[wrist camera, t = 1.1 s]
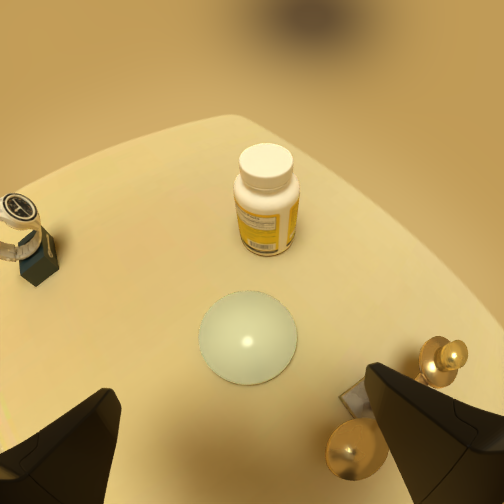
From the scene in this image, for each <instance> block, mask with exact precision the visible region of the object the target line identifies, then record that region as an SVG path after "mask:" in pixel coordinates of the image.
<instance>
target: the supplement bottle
mask: <svg viewBox="0 0 504 504" xmlns="http://www.w3.org/2000/svg"><path fill="white" fill-rule="evenodd" d="M239 168H240V173H239V174H238V176H237V177H236V179H235V182H234V187H233V189H234V198H235V205H236V211H237V218H238V224H239V230H240V235H241V239H242V241H243V243H244V245H245V246H246V247H247V248H248V249H249V250H250V251H252V252H254V253H256V254H259V255H264V256H271V255H276V254H279V253H281V252H283V251H284V250H286V249H287V248H288V247H289V246H290V245H291V243H292V241H293V239H294V234H295V228H296V220H297V212H298V204H299V196H300V184H299V181H298V178H297V177H296V175H295V174H294V173H293V157H292V155H291V153H290V152H289V151H288V150H287V149H286V148H284V147H282V146H280V145H277V144H271V143H261V144H256V145H253V146H251V147H249V148H247V149H246V150H244V151H243V152H242V154H241V155H240V158H239Z"/></svg>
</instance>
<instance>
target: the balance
mask: <svg viewBox="0 0 504 504" xmlns="http://www.w3.org/2000/svg"><path fill="white" fill-rule="evenodd" d="M467 358H468V350H467V347H466V345H465V343H464V342H463V341H461V340H455V341H453V342H450V341H449V340H448V339H446V338H444V337H441V336H436V337H433V338H431V339H429V340H428V341H427V342H425V343H424V345H423V346H422V348H421V351H420V354H419V367H420V371H421V372H420V373H419V374H418V376H417V377H416V378H415V379H414V380H416V381H418V382H420V383H422V384H424V385H426V386H428V385H430V386H431V387H433V388H437V389H438V388H443V387H446V386H448V385H450V384H451V383H452V382H453V381H454V379H455V378H456V375H457V372H458V368H461V367H463V366H464V365H465V363H466V361H467ZM364 379H365V377H364V378H363V379H361V380H360V381H359V382H358V383H356V384H355V385H354V386H353V387H351V388H350V389H349V390H347V391H346V392H345V393H343V394H342V395H341V396H339V398H340V399H341V401H342V402H343V404H344V405H345V406H346V408H347V409H348V411H349V412H350V413H351V415H352V416H353V418H354V419H353V420H349V421H347V422H345V423H343V424H342V425H340V426H339V427H338V428H337V429H336V430H335V431H334V432H333V434H332V435H331V436H330V438H329V440H328V443H327V446H326V451H325V458H326V463H327V466H328V468H329V469H330V471H331V472H332V473H333V474H334V475H336V476H337V477H339V478H342V479H346V480H351V481H356V480H362V479H365V478H367V477H369V476H371V475H372V474H374V473H375V472H376V471H377V470H378V469H379V468H380V467H381V466H382V465H383V463H384V461H385V460H386V457H387V455H388V451H389V447H388V445H387V443H386V441H385V439H384V437H383V435H382V432H381V430H380V428H379V426H378V424H377V422H376V419H375V417H374V414H373V411H372V408H371V405H370V402H369V399H368V396H367V393H366V390H365V387H364Z"/></svg>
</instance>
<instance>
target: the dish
mask: <svg viewBox="0 0 504 504" xmlns="http://www.w3.org/2000/svg"><path fill="white" fill-rule="evenodd" d="M296 343H297V331H296V326H295V322H294V320H293V318H292V316H291V314H290V312H289V311H288V310H287V308H286V307H285V306H284V305H283V304H282V303H281V302H280V301H278V300H277V299H275V298H274V297H272V296H270V295H267V294H265V293H261V292H257V291H240V292H235V293H232V294H229V295H227V296H225V297H223V298H221V299H220V300H218V301H217V302H216V303H215V304H213V305H212V306H211V308H210V309H209V310H208V311H207V313H206V314H205V316H204V318H203V320H202V322H201V325H200V329H199V346H200V351H201V354H202V356H203V358H204V360H205V362H206V363H207V365H208V366H209V367H210V368H211V370H212V371H213V372H215V373H216V374H217V375H218V376H220V377H221V378H223V379H225V380H227V381H229V382H233V383H236V384H241V385H254V384H259V383H263V382H266V381H268V380H270V379H272V378H274V377H275V376H277V375H278V374H280V373H281V372H282V371H283V370H284V369H285V367H286V366H287V365H288V364H289V362H290V360H291V359H292V357H293V354H294V352H295V348H296Z"/></svg>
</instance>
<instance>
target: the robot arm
mask: <svg viewBox="0 0 504 504" xmlns="http://www.w3.org/2000/svg"><path fill="white" fill-rule="evenodd" d="M364 387H365V390H366V393H367V396H368V399H369V402H370V405H371V408H372V411H373V414H374V417H375V419H376V422H377V424H378V426H379V428H380V430H381V432H382V435H383V437H384V439H385V441H386V443H387V445H388V447H389V449H390V451H391V454H392V456H393V458H394V460H395V462H396V464H397V467H398V469H399V471H400V473H401V475H402V478H403V480H404V482H405V484H406V487H407V489H408V491H409V493H410V496H411V498H412V500H413V503H414V504H504V416H501V415H498V414H494V413H491V412H488V411H484V410H482V409H479V408H476V407H473V406H470V405H468V404H466V403H463V402H461V401H459V400H456V399H453V398H452V397H450V396H447V395H445V394H443V393H441V392H439V391H437V390H435V389H432V388H430V387H428V386H426V385H424V384H422V383H420V382H418V381H416V380H414V379H412V378H409V377H407V376H405V375H403V374H401V373H399V372H397V371H395V370H393V369H391V368H389V367H387V366H385V365H383V364H381V363H379V362H376V363H372V364H369V365H367V367H366V373H365V379H364ZM120 416H121V404H120V402H119V400H118V398H117V396H116V394H115V392H114V390H112V389H111V388H101V389H100V390H98V391H97V392H96V393H94V394H93V395H91V396H90V397H88V398H87V399H86V400H84V401H83V402H81V403H80V404H78V405H77V406H76V407H74V408H73V409H71V410H70V411H68V412H67V413H65V414H64V415H62V416H61V417H60V418H58V419H57V420H55V421H54V422H52V423H51V424H49V425H48V426H46V427H45V428H43V429H42V430H40V431H39V432H37V433H36V434H34V435H33V436H31V437H30V438H28V439H27V440H25V441H23V442H22V443H20V444H18V445H16V446H14V447H13V448H11V449H9V450H7V451H5V452H3V453H1V454H0V504H103V503H104V498H105V493H106V488H107V483H108V478H109V473H110V469H111V464H112V460H113V456H114V452H115V448H116V443H117V437H118V430H119V423H120Z"/></svg>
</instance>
